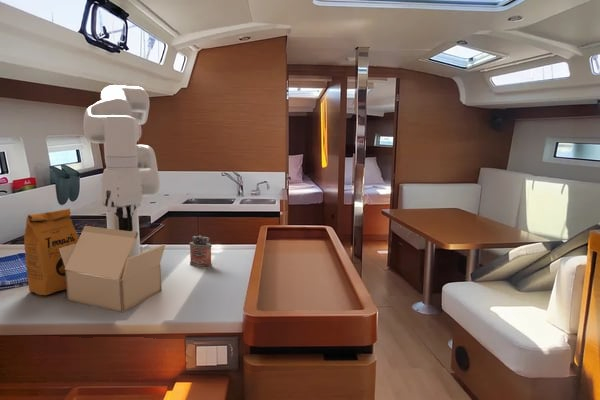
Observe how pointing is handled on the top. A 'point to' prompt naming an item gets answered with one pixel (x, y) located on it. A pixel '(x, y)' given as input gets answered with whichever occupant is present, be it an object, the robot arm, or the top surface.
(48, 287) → the coffee package
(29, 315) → the top surface
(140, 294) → the carton
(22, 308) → the top surface
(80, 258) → the lid flap
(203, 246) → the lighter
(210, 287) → the top surface
